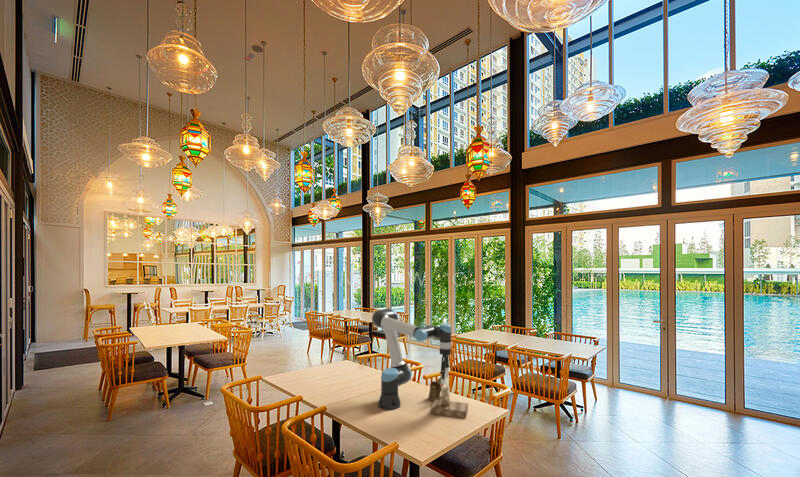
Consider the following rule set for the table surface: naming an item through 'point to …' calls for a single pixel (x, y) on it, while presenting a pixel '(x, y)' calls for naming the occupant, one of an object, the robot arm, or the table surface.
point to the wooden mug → (435, 390)
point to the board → (450, 409)
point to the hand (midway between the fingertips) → (444, 380)
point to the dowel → (445, 396)
